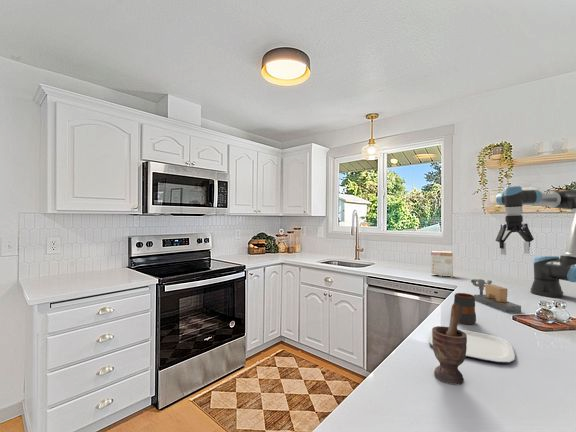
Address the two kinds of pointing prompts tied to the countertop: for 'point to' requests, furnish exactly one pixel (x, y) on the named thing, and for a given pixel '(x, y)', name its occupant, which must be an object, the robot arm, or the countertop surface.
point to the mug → (466, 308)
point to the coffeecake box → (442, 263)
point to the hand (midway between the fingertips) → (515, 254)
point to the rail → (498, 304)
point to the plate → (487, 347)
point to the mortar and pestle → (450, 348)
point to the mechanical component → (480, 284)
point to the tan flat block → (496, 293)
